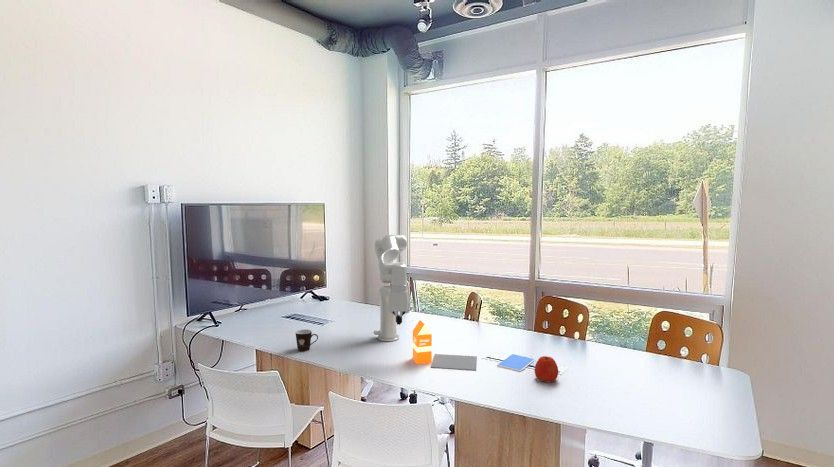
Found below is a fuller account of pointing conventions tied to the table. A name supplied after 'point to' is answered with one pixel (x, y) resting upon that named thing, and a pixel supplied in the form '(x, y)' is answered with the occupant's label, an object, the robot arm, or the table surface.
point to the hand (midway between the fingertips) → (399, 323)
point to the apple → (546, 369)
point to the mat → (454, 362)
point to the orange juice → (422, 344)
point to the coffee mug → (304, 339)
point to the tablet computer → (515, 362)
